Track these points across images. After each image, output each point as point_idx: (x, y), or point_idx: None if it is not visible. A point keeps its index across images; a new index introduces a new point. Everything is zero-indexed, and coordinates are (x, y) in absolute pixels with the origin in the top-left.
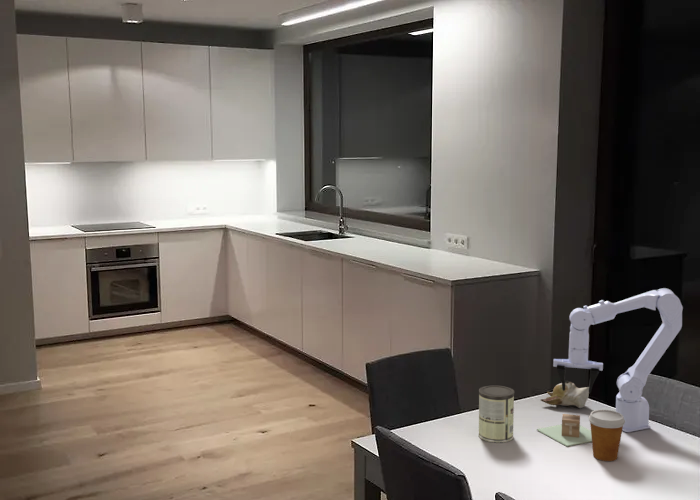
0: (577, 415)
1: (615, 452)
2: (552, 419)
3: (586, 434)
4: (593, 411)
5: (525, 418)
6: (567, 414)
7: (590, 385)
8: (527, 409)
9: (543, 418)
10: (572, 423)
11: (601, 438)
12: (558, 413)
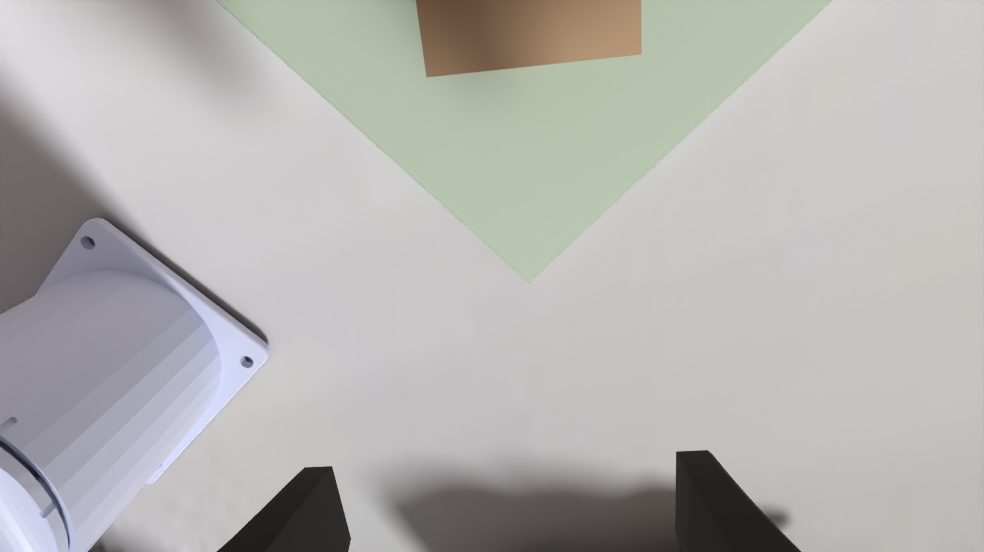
0: (456, 64)
1: None
2: (709, 310)
3: (379, 8)
4: None
5: (954, 254)
6: (580, 53)
7: (254, 543)
8: (915, 456)
9: (787, 307)
10: None
11: None
12: (664, 447)
